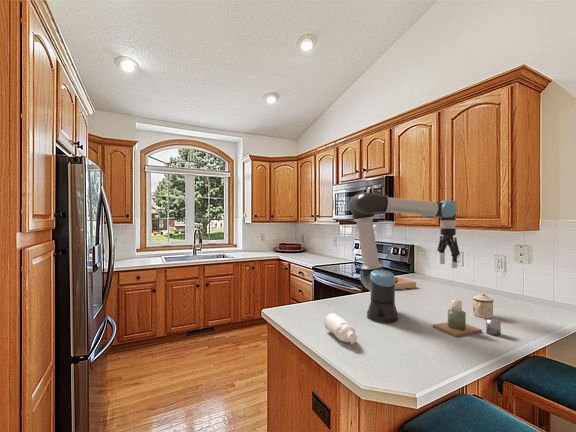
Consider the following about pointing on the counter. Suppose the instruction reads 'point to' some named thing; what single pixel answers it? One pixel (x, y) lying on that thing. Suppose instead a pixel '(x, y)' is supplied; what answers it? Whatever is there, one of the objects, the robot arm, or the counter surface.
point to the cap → (493, 327)
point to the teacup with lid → (483, 306)
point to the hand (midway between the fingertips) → (447, 266)
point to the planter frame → (404, 283)
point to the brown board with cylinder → (457, 322)
